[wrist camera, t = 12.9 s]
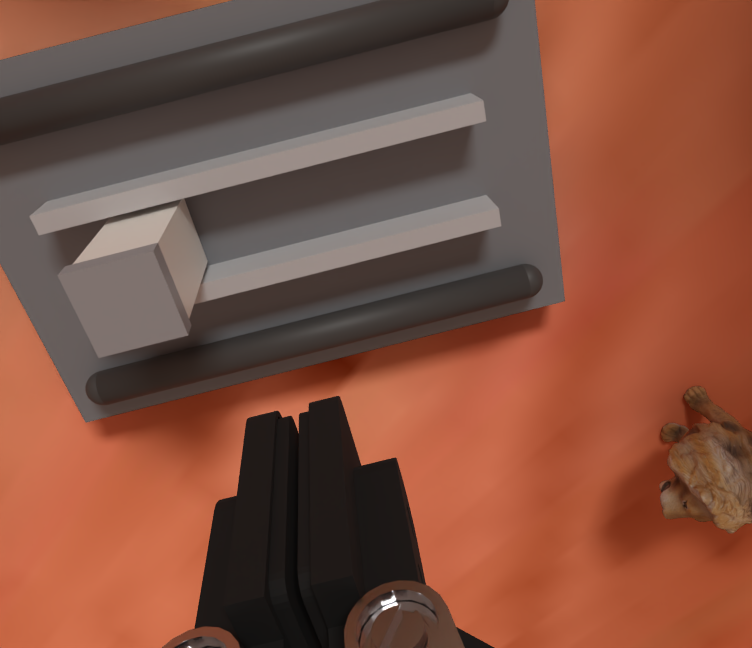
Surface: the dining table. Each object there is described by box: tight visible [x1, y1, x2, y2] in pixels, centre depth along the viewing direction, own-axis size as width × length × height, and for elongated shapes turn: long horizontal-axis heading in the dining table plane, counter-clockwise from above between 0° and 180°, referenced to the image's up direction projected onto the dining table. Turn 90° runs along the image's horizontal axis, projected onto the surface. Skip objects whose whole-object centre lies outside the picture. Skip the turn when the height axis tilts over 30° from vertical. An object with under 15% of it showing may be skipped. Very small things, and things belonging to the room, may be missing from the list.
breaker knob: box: [57, 198, 208, 358], centre depth 25 cm, size 3×3×7 cm
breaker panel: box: [0, 0, 565, 422], centre depth 28 cm, size 24×16×4 cm, turn 103°
